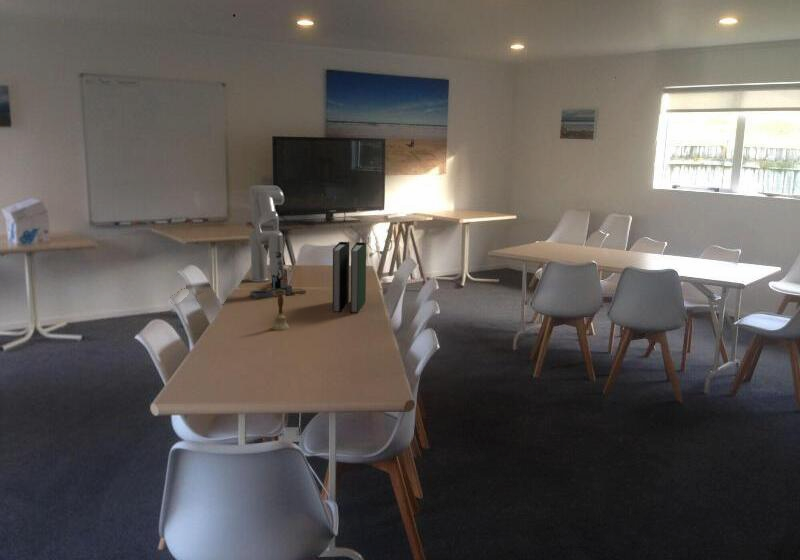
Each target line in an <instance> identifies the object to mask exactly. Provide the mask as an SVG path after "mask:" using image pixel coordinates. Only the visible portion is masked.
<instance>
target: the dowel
mask: <svg viewBox="0 0 800 560" xmlns="http://www.w3.org/2000/svg"><path fill="white" fill-rule="evenodd" d="M277 278H278V277H277ZM275 281H276V280H275V277H273V287H272V288H273V290H274V291H277V290H279V289H275Z"/></svg>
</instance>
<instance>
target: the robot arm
mask: <svg viewBox="0 0 800 560" xmlns="http://www.w3.org/2000/svg"><path fill="white" fill-rule="evenodd" d="M248 195H249V199H250V201H251V223H252V226H254V227H255V228H254V229H251V230H249V233H248V239H249V245H250V263H251V264H250V265H251V266H250V267H251V269H250V270H251V274H250V275H251V276H250V277H249V278H248V281H250V282H253V283H254V282H255V283H261V282H262V283H263V282H264V283H265V282H269V281H270V280H271V288H273V277H275V280H276V281H275V289H279V288H281V278H282V276H283V275H284V265H285V264H284V259H283V257H284V249H283V248H284V245H283V244H284V239H283V238H284V235H283V233H282V232H281V231H280V229H279V228H280V225H279V224H280V217H279V214H278V212H277V211H276V206H281V205H283V204H284V202H285V195H284V192H283V191H282V189H281V188H280V187H279V186H278V185H269V184H268V185H259V184H258V185H252V186H249V188H248ZM263 245H268V252H267V248H265V246H263ZM268 258H269V264H268ZM268 270H269V272H268ZM268 273H269V274H270V277H268ZM277 275H279V276H277ZM277 277H278V278H277Z"/></svg>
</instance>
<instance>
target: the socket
mask: <svg viewBox="0 0 800 560" xmlns="http://www.w3.org/2000/svg"><path fill="white" fill-rule="evenodd" d="M266 290H267V291H269V292H271V293H272V297H271V298H276V297H275V296H279V294H282V296H283V295H286V290H284V289H282V288H279V290H277V291H274V290H273V287H271V288H266ZM286 296H287V295H286ZM283 297H284V296H283Z"/></svg>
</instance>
